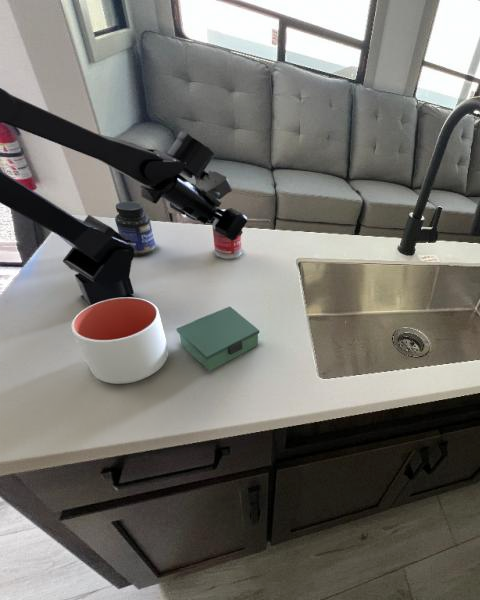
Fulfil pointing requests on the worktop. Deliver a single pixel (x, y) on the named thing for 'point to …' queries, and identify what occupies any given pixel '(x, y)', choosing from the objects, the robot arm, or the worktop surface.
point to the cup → (121, 339)
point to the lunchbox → (218, 337)
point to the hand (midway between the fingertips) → (231, 228)
